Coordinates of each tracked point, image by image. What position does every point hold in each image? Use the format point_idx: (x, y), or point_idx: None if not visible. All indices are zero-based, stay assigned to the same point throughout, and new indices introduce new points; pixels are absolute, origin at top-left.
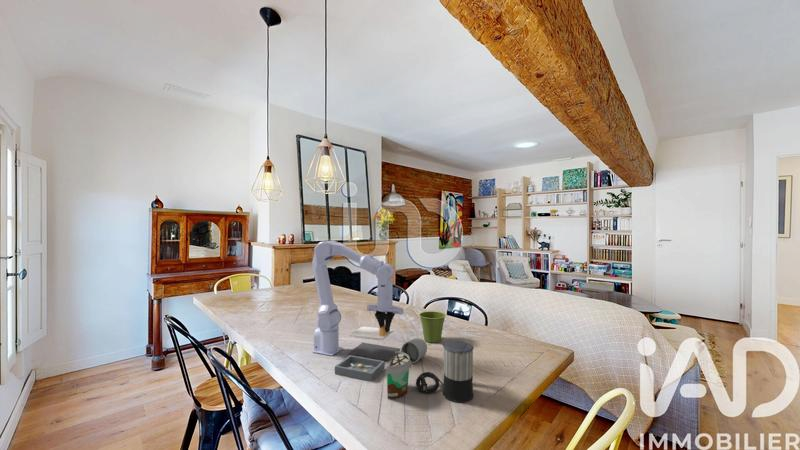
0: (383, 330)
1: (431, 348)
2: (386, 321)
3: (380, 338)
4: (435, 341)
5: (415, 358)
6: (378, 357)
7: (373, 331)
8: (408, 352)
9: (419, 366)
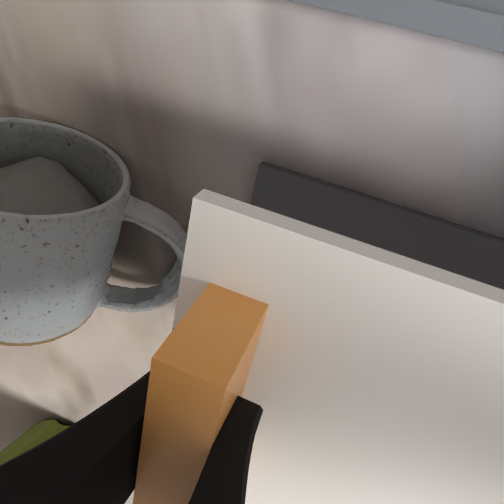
0: (168, 348)
1: (46, 357)
2: (21, 497)
3: (233, 207)
4: (42, 423)
5: (36, 157)
6: (351, 215)
7: (398, 477)
8: (70, 204)
9: (19, 89)
